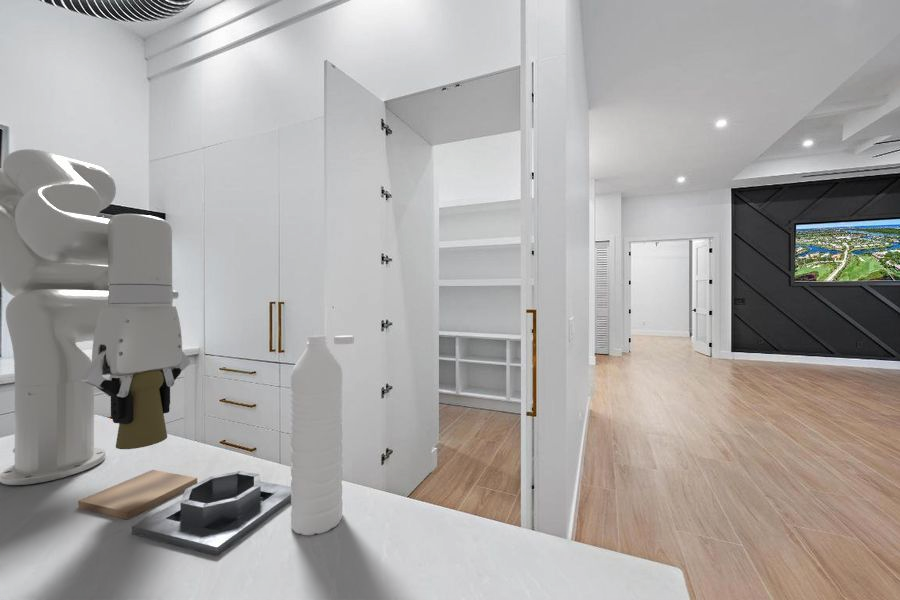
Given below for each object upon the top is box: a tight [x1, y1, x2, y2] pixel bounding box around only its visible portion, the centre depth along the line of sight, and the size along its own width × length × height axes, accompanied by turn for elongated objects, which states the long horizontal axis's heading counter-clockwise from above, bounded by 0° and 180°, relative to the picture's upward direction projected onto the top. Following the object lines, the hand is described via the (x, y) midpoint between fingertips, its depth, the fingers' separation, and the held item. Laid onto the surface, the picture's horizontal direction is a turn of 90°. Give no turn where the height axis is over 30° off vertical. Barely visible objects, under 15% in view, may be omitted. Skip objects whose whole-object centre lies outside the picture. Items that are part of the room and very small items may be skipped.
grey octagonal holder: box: [131, 470, 292, 557], centre depth 51 cm, size 14×14×4 cm
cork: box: [115, 370, 168, 450], centre depth 56 cm, size 6×6×11 cm
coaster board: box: [77, 469, 198, 520], centre depth 56 cm, size 10×10×1 cm
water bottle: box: [290, 334, 355, 536], centre depth 49 cm, size 9×6×25 cm
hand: (142, 416), depth 56 cm, fingers closed on cork, 4 cm apart
